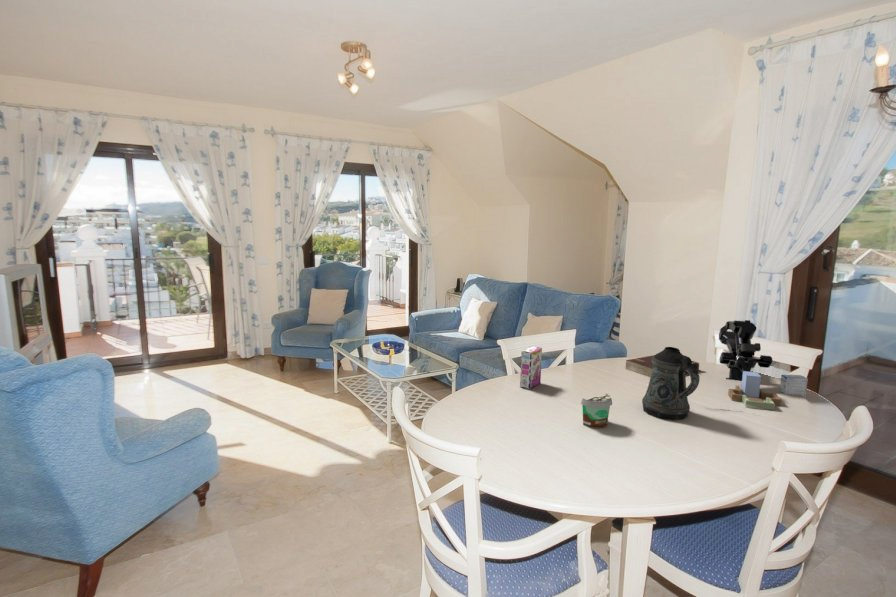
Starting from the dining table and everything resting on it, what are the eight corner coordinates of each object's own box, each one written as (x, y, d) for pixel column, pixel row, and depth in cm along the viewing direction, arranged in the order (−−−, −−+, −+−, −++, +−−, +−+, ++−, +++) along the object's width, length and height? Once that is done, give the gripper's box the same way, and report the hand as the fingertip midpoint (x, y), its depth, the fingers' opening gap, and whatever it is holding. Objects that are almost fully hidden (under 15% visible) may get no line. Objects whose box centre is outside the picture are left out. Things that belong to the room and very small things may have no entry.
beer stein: (647, 400, 193) (651, 340, 189) (701, 411, 182) (706, 347, 178) (636, 413, 180) (641, 349, 176) (694, 426, 169) (700, 357, 165)
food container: (592, 432, 164) (594, 404, 162) (579, 425, 169) (581, 398, 168) (618, 425, 169) (620, 398, 168) (605, 419, 175) (607, 392, 173)
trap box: (724, 393, 202) (725, 384, 202) (770, 398, 197) (771, 388, 196) (734, 409, 184) (735, 399, 184) (784, 415, 179) (786, 405, 178)
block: (740, 391, 200) (743, 371, 198) (754, 393, 198) (757, 372, 197) (744, 396, 194) (746, 375, 193) (758, 398, 192) (761, 376, 191)
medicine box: (798, 394, 201) (801, 374, 200) (805, 398, 197) (808, 378, 195) (778, 394, 202) (781, 374, 201) (785, 397, 198) (787, 377, 196)
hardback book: (657, 380, 220) (658, 370, 219) (625, 369, 236) (626, 360, 235) (698, 372, 233) (699, 362, 232) (665, 362, 250) (666, 353, 249)
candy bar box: (530, 389, 206) (531, 352, 203) (519, 387, 208) (520, 350, 206) (541, 383, 215) (542, 347, 212) (531, 380, 217) (532, 345, 215)
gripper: (723, 333, 207) (726, 365, 198) (773, 337, 200) (778, 370, 192) (718, 347, 215) (720, 378, 206) (766, 351, 209) (771, 383, 200)
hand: (747, 377), depth 201 cm, fingers closed
